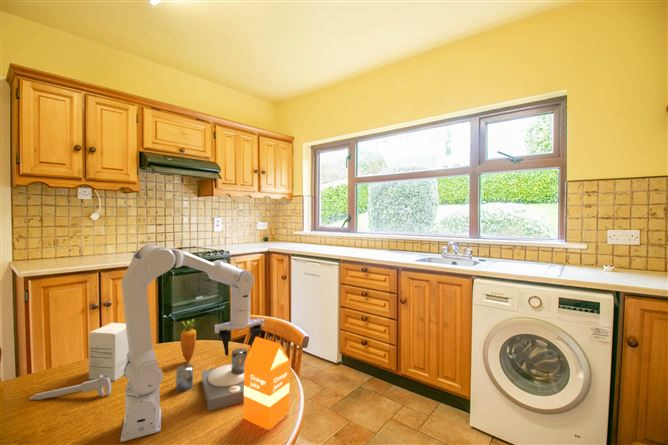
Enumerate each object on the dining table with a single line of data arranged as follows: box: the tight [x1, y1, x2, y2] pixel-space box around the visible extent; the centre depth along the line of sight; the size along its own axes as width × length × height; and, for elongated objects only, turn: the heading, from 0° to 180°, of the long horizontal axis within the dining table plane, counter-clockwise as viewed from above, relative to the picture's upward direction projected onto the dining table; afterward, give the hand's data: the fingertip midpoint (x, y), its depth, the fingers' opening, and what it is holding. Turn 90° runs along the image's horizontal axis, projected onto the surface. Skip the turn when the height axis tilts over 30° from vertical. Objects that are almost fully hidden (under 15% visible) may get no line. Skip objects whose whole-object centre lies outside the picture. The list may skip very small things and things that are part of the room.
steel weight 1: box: [175, 363, 194, 393], centre depth 93 cm, size 4×4×6 cm
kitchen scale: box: [201, 364, 244, 412], centre depth 93 cm, size 17×14×4 cm
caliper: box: [28, 374, 112, 401], centre depth 87 cm, size 20×1×6 cm, turn 98°
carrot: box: [180, 318, 197, 363], centre depth 108 cm, size 5×5×15 cm
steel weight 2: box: [230, 347, 248, 374], centre depth 96 cm, size 4×4×6 cm
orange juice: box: [243, 336, 291, 429], centre depth 80 cm, size 8×9×20 cm
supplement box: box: [88, 322, 129, 382], centre depth 100 cm, size 9×9×15 cm
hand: (239, 352), depth 95 cm, fingers open, 7 cm apart
